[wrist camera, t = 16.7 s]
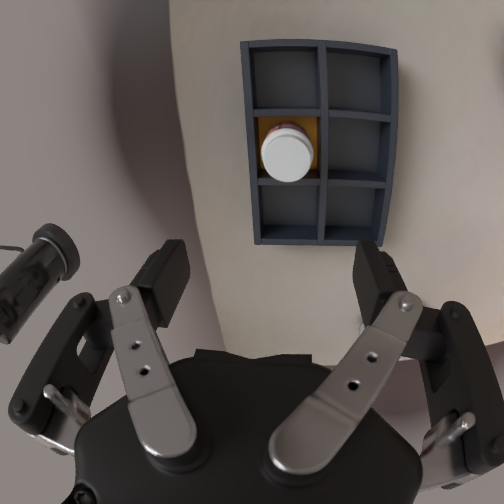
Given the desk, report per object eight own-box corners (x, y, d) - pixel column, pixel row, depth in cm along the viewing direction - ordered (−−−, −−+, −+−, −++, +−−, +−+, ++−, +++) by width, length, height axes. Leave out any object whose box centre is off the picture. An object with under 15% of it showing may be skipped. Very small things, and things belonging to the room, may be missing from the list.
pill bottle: (271, 116, 27) (265, 125, 20) (313, 128, 27) (323, 141, 20) (261, 156, 30) (252, 178, 23) (302, 167, 30) (306, 193, 23)
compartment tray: (258, 228, 36) (254, 244, 33) (246, 47, 24) (239, 41, 20) (374, 230, 34) (382, 246, 31) (384, 53, 22) (397, 49, 18)
